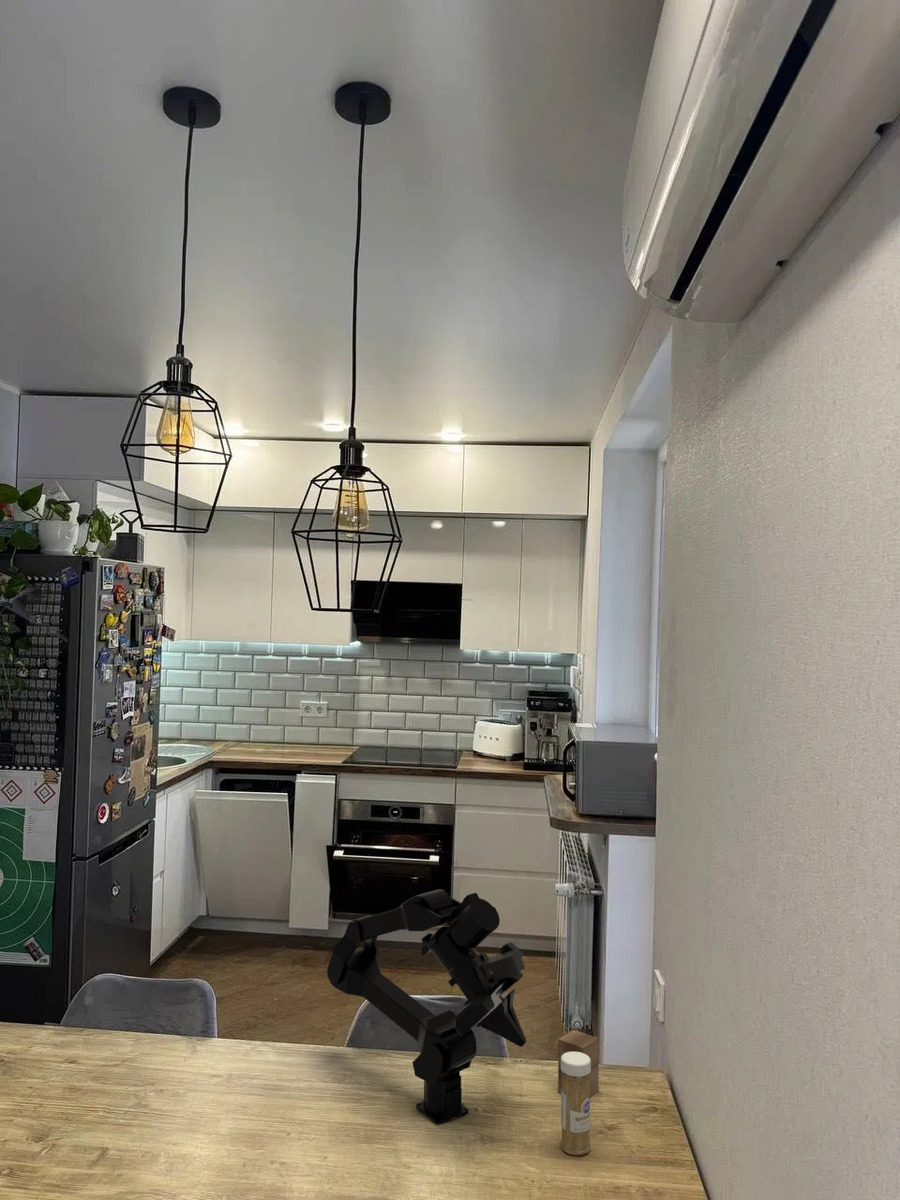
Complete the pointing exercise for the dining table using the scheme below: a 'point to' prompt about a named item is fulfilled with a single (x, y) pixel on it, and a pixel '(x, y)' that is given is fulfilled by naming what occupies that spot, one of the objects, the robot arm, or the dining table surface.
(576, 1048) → the walnut block
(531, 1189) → the dining table surface
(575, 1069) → the sprinkles bottle
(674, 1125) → the dining table surface
